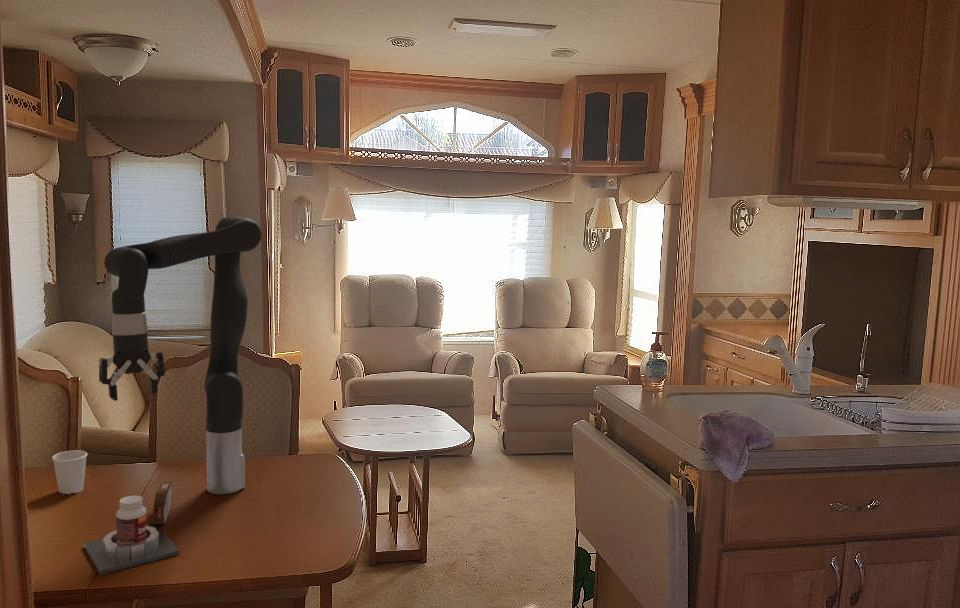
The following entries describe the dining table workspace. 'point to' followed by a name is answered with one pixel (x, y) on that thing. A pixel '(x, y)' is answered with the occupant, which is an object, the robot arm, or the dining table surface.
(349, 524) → the dining table surface
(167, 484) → the tin
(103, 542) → the collar
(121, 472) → the dining table surface
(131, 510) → the pill bottle
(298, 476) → the dining table surface
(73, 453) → the dixie cup
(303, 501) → the dining table surface
